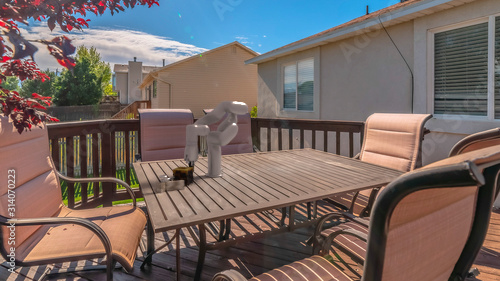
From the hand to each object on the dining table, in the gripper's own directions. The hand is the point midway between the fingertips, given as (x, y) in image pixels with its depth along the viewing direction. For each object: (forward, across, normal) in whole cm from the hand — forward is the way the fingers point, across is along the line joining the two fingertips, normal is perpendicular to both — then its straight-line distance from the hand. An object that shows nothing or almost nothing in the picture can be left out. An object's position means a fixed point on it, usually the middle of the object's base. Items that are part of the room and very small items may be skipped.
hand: (191, 171), depth 190 cm
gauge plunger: (+2, +24, 0) cm, 24 cm away
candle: (+7, +9, 0) cm, 11 cm away
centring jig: (+7, +25, 0) cm, 26 cm away
